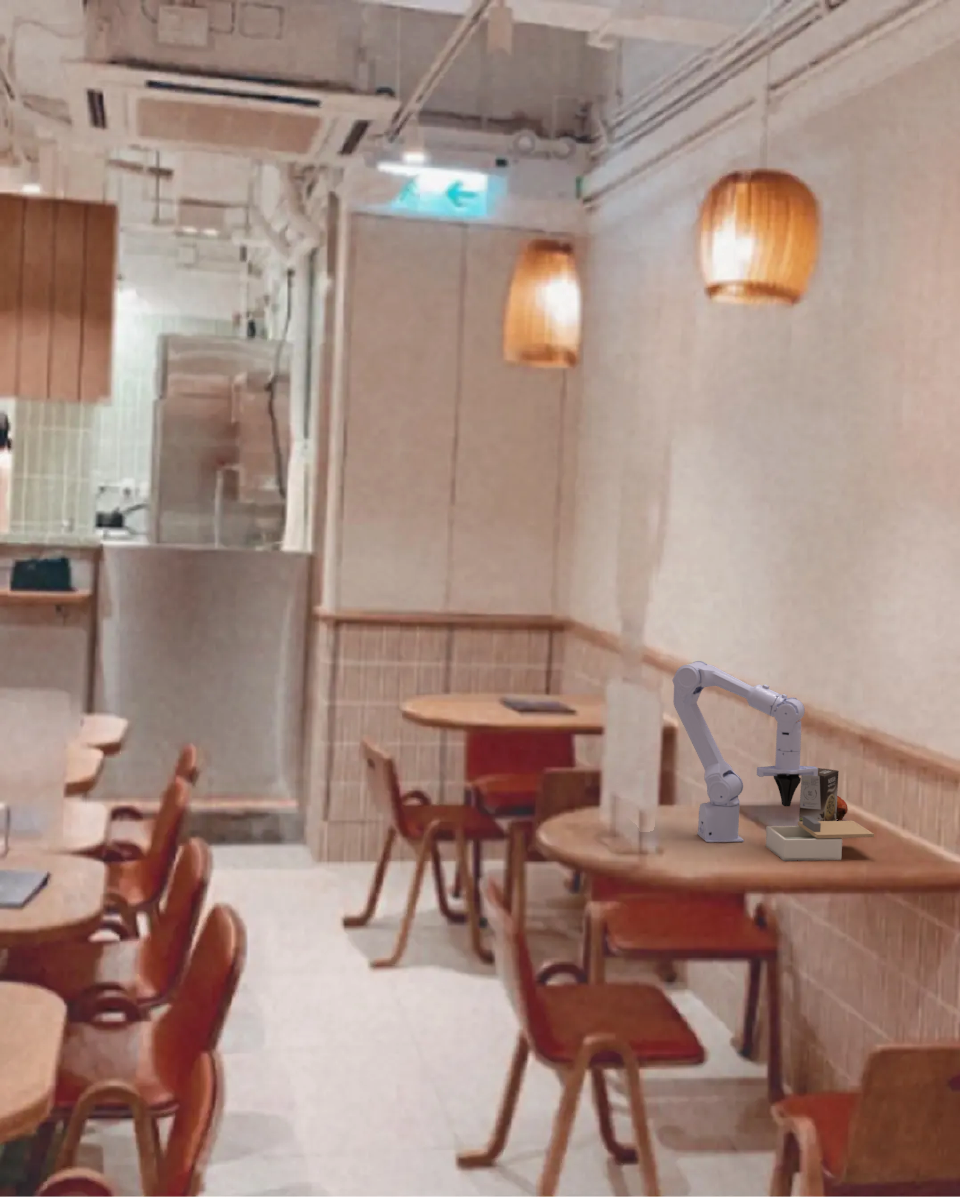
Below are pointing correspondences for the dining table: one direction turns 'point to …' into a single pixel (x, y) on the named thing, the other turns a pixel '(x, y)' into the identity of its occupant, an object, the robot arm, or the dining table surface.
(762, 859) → the dining table surface
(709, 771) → the robot arm
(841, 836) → the mailer lid
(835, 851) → the mailer base
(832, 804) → the coffee box
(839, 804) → the pomegranate
